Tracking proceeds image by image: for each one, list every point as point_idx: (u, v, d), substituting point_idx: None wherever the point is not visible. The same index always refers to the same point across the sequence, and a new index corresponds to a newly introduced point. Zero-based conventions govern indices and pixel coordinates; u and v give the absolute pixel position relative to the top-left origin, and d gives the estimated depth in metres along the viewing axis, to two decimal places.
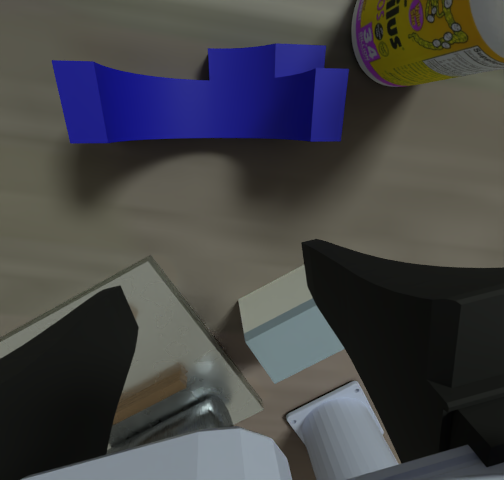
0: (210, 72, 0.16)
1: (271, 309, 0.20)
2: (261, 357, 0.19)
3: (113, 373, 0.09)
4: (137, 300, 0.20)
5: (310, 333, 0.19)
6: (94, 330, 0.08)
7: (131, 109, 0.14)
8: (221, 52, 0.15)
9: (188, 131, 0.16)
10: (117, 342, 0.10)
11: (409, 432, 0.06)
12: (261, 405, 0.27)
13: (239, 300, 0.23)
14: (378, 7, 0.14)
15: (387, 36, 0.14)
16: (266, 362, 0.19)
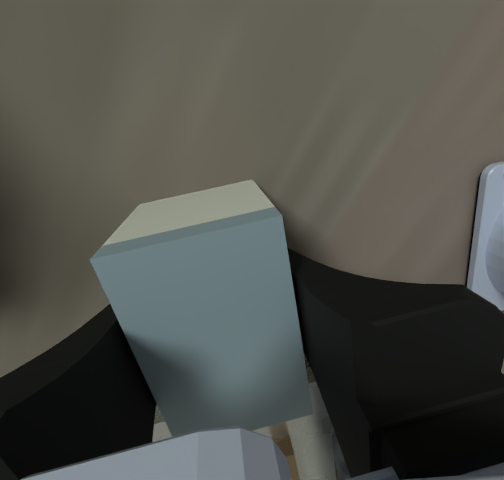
0: None
1: None
2: None
3: None
4: None
5: (204, 341, 0.08)
6: None
7: None
8: None
9: None
10: None
11: (352, 449, 0.06)
12: None
13: None
14: None
15: None
16: (248, 423, 0.09)
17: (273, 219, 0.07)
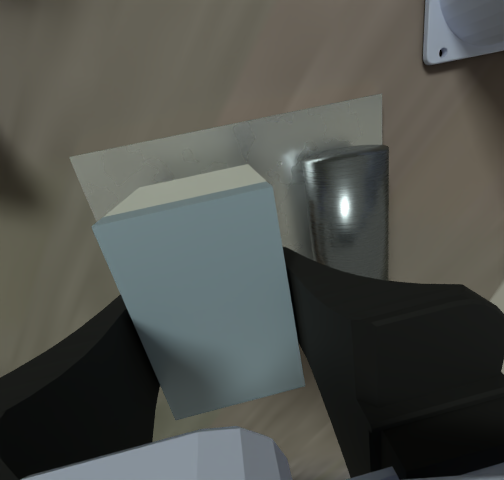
0: None
1: None
2: (225, 400, 0.10)
3: None
4: (125, 191, 0.17)
5: (199, 310, 0.08)
6: None
7: None
8: None
9: None
10: None
11: (351, 448, 0.06)
12: (374, 95, 0.17)
13: None
14: None
15: None
16: (242, 393, 0.10)
17: (264, 190, 0.07)
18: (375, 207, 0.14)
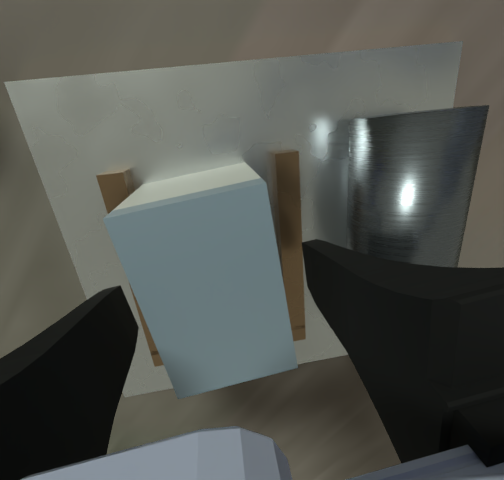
0: None
1: None
2: (224, 380, 0.10)
3: (113, 373, 0.09)
4: (89, 145, 0.11)
5: (200, 296, 0.09)
6: (94, 330, 0.08)
7: None
8: None
9: None
10: (117, 342, 0.10)
11: (409, 432, 0.06)
12: (451, 43, 0.12)
13: None
14: None
15: None
16: (240, 374, 0.10)
17: (258, 186, 0.08)
18: (461, 192, 0.10)
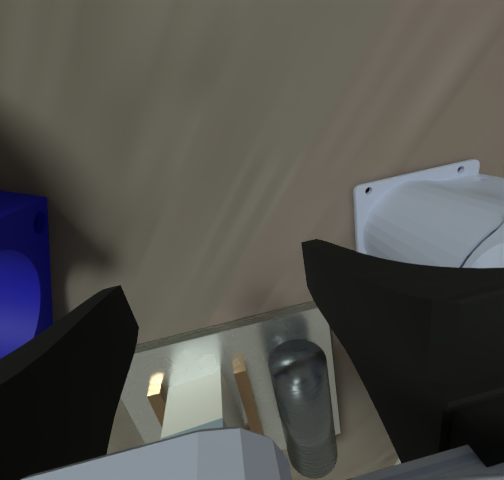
0: None
1: None
2: None
3: (113, 373, 0.09)
4: (141, 377, 0.23)
5: None
6: (94, 330, 0.08)
7: None
8: None
9: (33, 309, 0.19)
10: (117, 342, 0.10)
11: (409, 432, 0.06)
12: None
13: None
14: None
15: None
16: None
17: None
18: (317, 406, 0.21)
